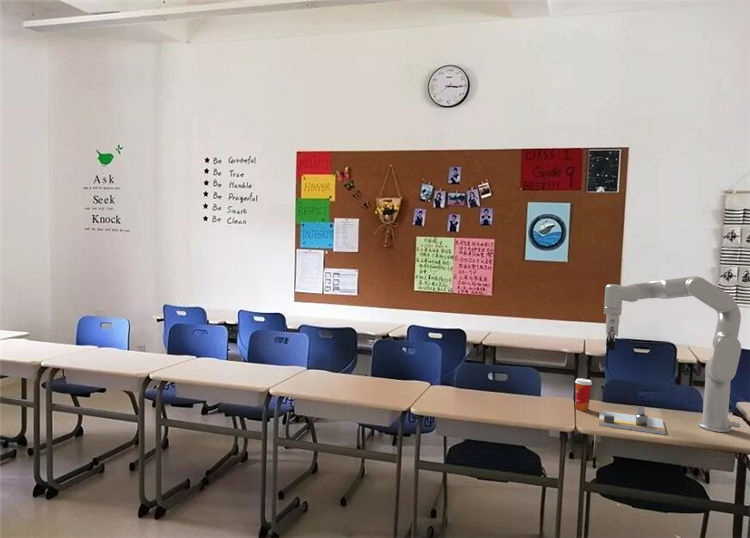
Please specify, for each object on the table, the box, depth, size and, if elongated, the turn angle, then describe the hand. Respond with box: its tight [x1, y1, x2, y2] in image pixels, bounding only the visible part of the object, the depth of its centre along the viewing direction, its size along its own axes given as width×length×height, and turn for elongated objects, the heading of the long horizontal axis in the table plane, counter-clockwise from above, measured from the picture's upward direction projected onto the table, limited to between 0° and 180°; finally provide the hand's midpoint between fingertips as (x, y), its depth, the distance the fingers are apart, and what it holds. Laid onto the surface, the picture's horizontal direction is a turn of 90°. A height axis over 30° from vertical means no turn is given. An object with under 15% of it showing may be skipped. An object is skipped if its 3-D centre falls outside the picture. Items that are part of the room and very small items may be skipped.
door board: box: [598, 410, 666, 436], centre depth 260 cm, size 26×20×4 cm
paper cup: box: [574, 378, 593, 412], centre depth 279 cm, size 8×8×14 cm
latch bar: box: [636, 405, 649, 426], centre depth 260 cm, size 18×5×5 cm, turn 158°
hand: (610, 347), depth 273 cm, fingers open, 9 cm apart
